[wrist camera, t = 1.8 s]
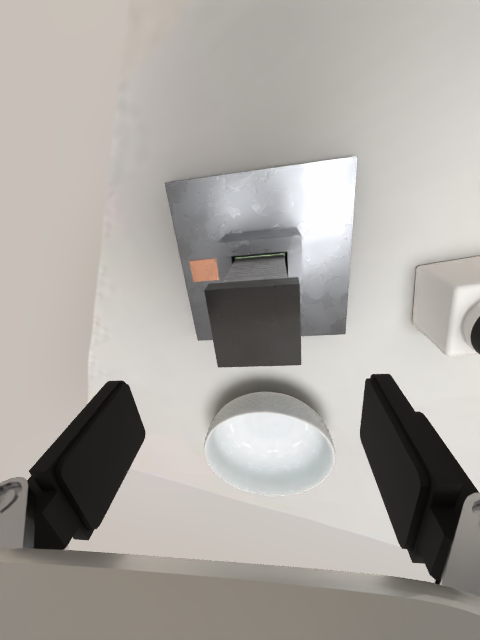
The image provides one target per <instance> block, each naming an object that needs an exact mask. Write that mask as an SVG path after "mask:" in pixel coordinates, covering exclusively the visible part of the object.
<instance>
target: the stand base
mask: <svg viewBox="0 0 480 640" xmlns="http://www.w3.org/2000/svg"><path fill="white" fill-rule="evenodd" d="M356 169H357V156H355V157H348V158H340V159H333V160H326V161H319V162H311V163H304V164H297V165H290V166H282V167H275V168H268V169H261V170H253V171H246V172H239V173H232V174H225V175H217V176H210V177H203V178H196V179H188V180H181V181H174V182H167V183H165V187H166V192H167V196H168V201H169V206H170V211H171V215H172V220H173V225H174V230H175V234H176V239H177V244H178V249H179V253H180V258H181V263H182V268H183V272H184V277H185V282H186V287H187V291H188V296H189V301H190V306H191V310H192V315H193V320H194V325H195V329H196V334H197V339H198V341H199V340H213V337H212V331H211V326H210V320H209V315H208V309H207V304H206V298H205V293H204V290H205V288H206V287H207V285H208V284H210V283H223V281H224V279H225V277H226V276H227V274H228V272H229V270H230V268H231V266H232V264H233V263H234V261H235V257H236V256H242V255H253V254H264V253H275V252H284V259H285V265H286V270H287V276H288V278H289V277H298V279H299V282H300V321H301V336H314V335H337V334H345V331H346V316H347V301H348V287H349V272H350V257H351V242H352V228H353V213H354V198H355V183H356Z"/></svg>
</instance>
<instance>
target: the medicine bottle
mask: <svg viewBox="0 0 480 640" xmlns="http://www.w3.org/2000/svg"><path fill="white" fill-rule="evenodd" d="M412 322H413V324H414V325H415V326H416V327H417V328H418V329H419V330H420V331H421V332H422V333H423V334H424V335H425V336H426V337H427V338H428V339H429V340H430V341H431V342H432V343H434V344H435V345H436V346H437V347H438V348H439V349H440V350H441V351H442V352H443V353H444V354H445V355H446V356H460V355H470V354H480V256H476V257H470V258H464V259H458V260H452V261H445V262H439V263H433V264H427V265H421V266H418V267H417V268H416V279H415V293H414V307H413V321H412Z"/></svg>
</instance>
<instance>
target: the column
mask: <svg viewBox="0 0 480 640" xmlns="http://www.w3.org/2000/svg"><path fill="white" fill-rule="evenodd" d="M204 293H205V298H206V304H207V309H208V315H209V320H210V326H211V331H212V337H213V342H214V348H215V353H216V359H217V364H218V367H248V366H285V365H301V321H300V282H299V279H298V277H289V278H288V276H287V270H286V265H285V259H284V252H275V253H264V254H253V255H242V256H236V257H235V261H234V263H233V264H232V266H231V268H230V270H229V272H228V274H227V276H226V277H225V279H224V281H223V283H210V284H208V285H207V287H206V288H205V290H204Z"/></svg>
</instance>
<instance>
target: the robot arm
mask: <svg viewBox="0 0 480 640" xmlns="http://www.w3.org/2000/svg"><path fill="white" fill-rule="evenodd" d="M360 438H361V442H362V445H363V447H364V450H365V453H366V456H367V458H368V461H369V464H370V466H371V469H372V472H373V474H374V477H375V480H376V483H377V485H378V488H379V491H380V493H381V496H382V499H383V502H384V504H385V507H386V510H387V512H388V515H389V518H390V521H391V523H392V526H393V529H394V531H395V534H396V537H397V540H398V542H399V544H400V546H401V547H402V549H407V550H408V552H409V555H410V557H411V560H412V562H413V563H425V564H426V567H427V569H428V571H429V574H430V575H431V576H432V577H433V578H434V579H435V580H434V583H430V582H426V581H419V580H413V579H406V578H399V577H393V576H383V575H374V574H364V573H354V572H344V571H334V570H323V569H311V568H299V567H286V566H274V565H262V564H250V563H237V562H224V561H211V560H198V559H185V558H172V557H158V556H145V555H130V554H116V553H101V552H86V551H73V550H68V544H69V542H70V540H71V538H72V537H73V538H74V539H79V540H89V538H90V536H91V535H92V533H93V531H94V529H97V528H98V527H99V525H100V524H101V522H102V520H103V518H104V516H105V514H106V512H107V510H108V509H109V507H110V505H111V503H112V501H113V499H114V497H115V495H116V493H117V491H118V489H119V487H120V485H121V484H122V481H123V480H124V478H125V476H126V474H127V471H128V470H129V468H130V466H131V464H132V462H133V460H134V458H135V457H136V455H137V453H138V451H139V449H140V447H141V445H142V443H143V441H144V439H145V429H144V426H143V424H142V421H141V418H140V415H139V412H138V410H137V407H136V404H135V401H134V398H133V396H132V393H131V390H130V387H129V385H128V384H126V383H125V382H124V381H108V382H107V383H106V384H105V385H104V386H103V387H102V388H101V390H100V391H99V392H98V393H97V394H96V395H95V396H94V398H93V399H92V400H91V401H90V402H89V403H88V404H87V405H86V407H85V408H84V409H83V410H82V411H81V412H80V413H79V415H78V416H77V417H76V418H75V419H74V420H73V421H72V423H71V424H70V425H69V426H68V427H67V428H66V429H65V431H64V432H63V433H62V434H61V435H60V436H59V438H57V440H56V441H55V442H54V443H53V444H52V445H51V447H50V448H49V449H48V450H47V451H46V452H45V453H44V454H43V456H42V457H41V458H40V459H39V460H38V461H37V462H36V464H35V465H34V466H33V467H32V468H31V469H30V470H29V472H30V474H31V475H32V476H31V477H30V478H29V479H28V480H26V479H25V478H22V477H16V478H11V479H8V480H6V481H3V482H1V483H0V640H480V493H479V492H478V490H477V489H476V488H475V486H474V485H473V483H472V482H471V480H470V479H469V478H468V476H467V475H466V473H465V472H464V470H463V469H462V468H461V466H460V465H459V463H458V462H457V460H456V459H455V458H454V456H453V455H452V453H451V452H450V451H449V449H448V448H447V446H446V445H445V443H444V442H443V441H442V439H441V438H440V436H439V435H438V433H437V432H436V431H435V429H434V428H433V426H432V425H431V423H430V422H429V421H428V419H427V418H426V417H425V415H424V414H423V413H421V412H415V411H414V409H413V408H412V406H411V405H410V403H409V402H408V400H407V399H406V397H405V396H404V394H403V393H402V391H401V390H400V388H399V387H398V385H397V384H396V382H395V381H394V379H393V378H392V376H391V375H390V374H372V375H371V378H369V379H366V381H365V390H364V399H363V408H362V418H361V427H360Z"/></svg>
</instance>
